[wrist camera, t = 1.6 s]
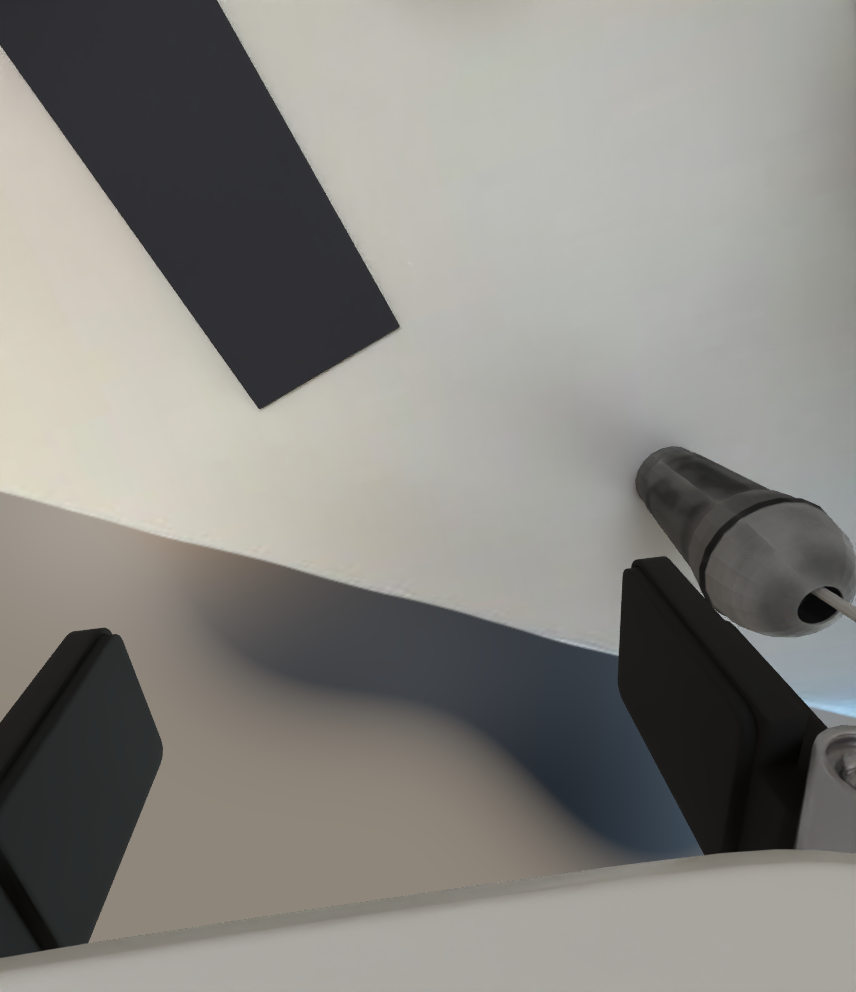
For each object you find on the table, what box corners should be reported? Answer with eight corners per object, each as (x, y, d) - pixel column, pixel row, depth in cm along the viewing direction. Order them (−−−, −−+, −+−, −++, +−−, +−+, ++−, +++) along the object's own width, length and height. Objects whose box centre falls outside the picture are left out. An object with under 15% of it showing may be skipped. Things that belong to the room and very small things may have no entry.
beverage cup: (612, 528, 42) (792, 754, 24) (619, 431, 39) (831, 605, 21) (711, 519, 42) (962, 734, 24) (726, 422, 39) (1025, 585, 21)
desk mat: (154, -111, 27) (151, -116, 26) (399, 325, 35) (399, 326, 35) (-17, 17, 28) (-22, 14, 28) (260, 407, 37) (259, 409, 36)
